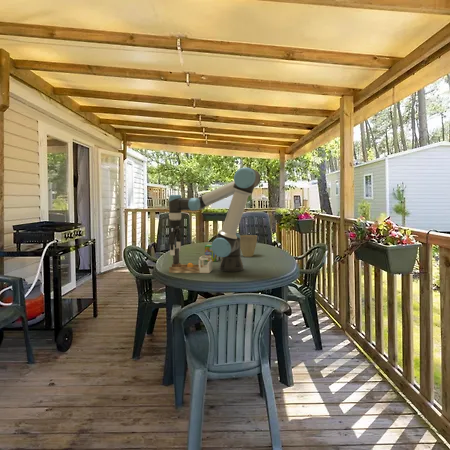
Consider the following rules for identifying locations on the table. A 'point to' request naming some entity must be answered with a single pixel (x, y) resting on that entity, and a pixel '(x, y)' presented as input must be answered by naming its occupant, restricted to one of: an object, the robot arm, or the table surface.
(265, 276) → the table surface
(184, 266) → the tray
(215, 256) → the chalk box
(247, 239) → the plant pot
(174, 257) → the sled
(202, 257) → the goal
